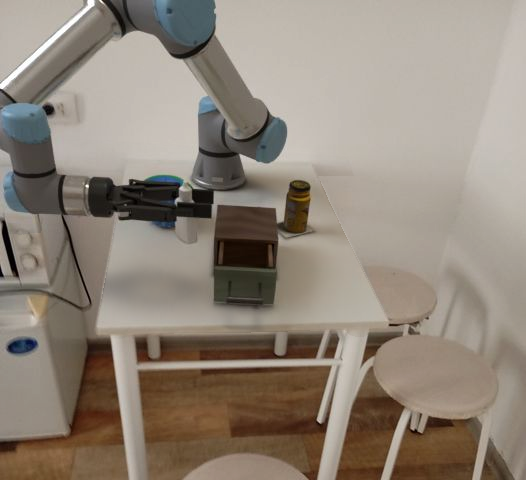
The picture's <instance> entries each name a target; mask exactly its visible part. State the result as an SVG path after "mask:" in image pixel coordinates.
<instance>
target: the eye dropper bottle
mask: <svg viewBox="0 0 526 480" xmlns="http://www.w3.org/2000/svg"><path fill="white" fill-rule="evenodd" d="M187 182H188V180H184V181H183V186H181V187H180V188H179V198H177V199H176V200H175V204H176V206H177V202H192V203H194V201H193V200H192V188H191V187H189V186H188V184H187ZM174 228H175V231H174V232H175V236H176V238H177V239H178V240H179V241H180V242H181V243H183V244H185V245H192V244H195V243H198V218H192V217H177V221H176V222H175V225H174Z"/></svg>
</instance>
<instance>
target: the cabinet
mask: <svg viewBox="0 0 526 480" xmlns="http://www.w3.org/2000/svg"><path fill="white" fill-rule="evenodd" d="M277 223H278V219H277V208H276V207H265V206H264V207H263V206H248V205H231V204H217V205H216V215H215V225H214V232H213V233H214V234H213V235H214V236H213V277H214V266H218V261H219V249H220V241H236V242H254V243H272V256H273V269H277V258H278V248H279V232H278V230H277Z"/></svg>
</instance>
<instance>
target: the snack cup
mask: <svg viewBox="0 0 526 480" xmlns="http://www.w3.org/2000/svg"><path fill="white" fill-rule="evenodd" d="M143 181H161V182H178V183H180V185H181V186H183V181H185V180H184V179H183V178H182V177H179V176H177V175H171V174H155V175H151V176H148V177H147V178H145V179H144V180H143ZM187 184H188V186H189V187H191V188H192V189H194V187H193V186H192V184H190V183H189V181H187ZM141 195H142V194H141ZM162 202H167V203H172V204H175V200H171V201H162ZM151 223H152V224H153V225H156V226H157V227H161V228H172V227H175V222H170V223H167V222H153V221H151Z"/></svg>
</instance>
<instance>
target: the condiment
mask: <svg viewBox="0 0 526 480" xmlns="http://www.w3.org/2000/svg"><path fill="white" fill-rule="evenodd" d="M311 197H312V196H311V184H310V183H309V182H308V181H306V180H303V179H302V180H301V179H294V180H291V181H290V182H289V185H288V191H287V193H286V197H285V204H284V205H285V206H284V214H283V215H284V216H283V221H281V222H280V221H279V222H277V230H278V234H281V236H283V237H284V238H288V239H289V238H292V237H295V236H299V235H300V236H301V235H303V234H309V233H311V232H314V230H313V229H312V228H311V227H308V222H309V220H308V219H309V213H310V204H311Z"/></svg>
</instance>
